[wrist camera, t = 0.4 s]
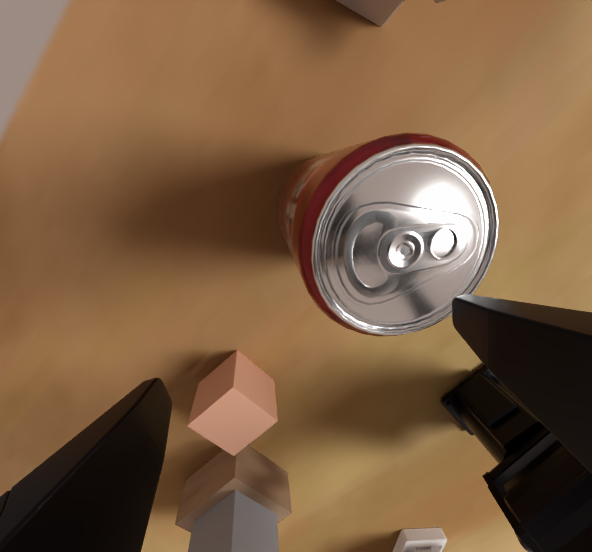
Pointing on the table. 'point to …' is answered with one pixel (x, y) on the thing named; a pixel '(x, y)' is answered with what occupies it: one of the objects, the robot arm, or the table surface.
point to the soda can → (390, 231)
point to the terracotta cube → (234, 404)
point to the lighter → (375, 8)
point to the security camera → (420, 540)
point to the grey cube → (235, 527)
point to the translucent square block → (234, 485)
